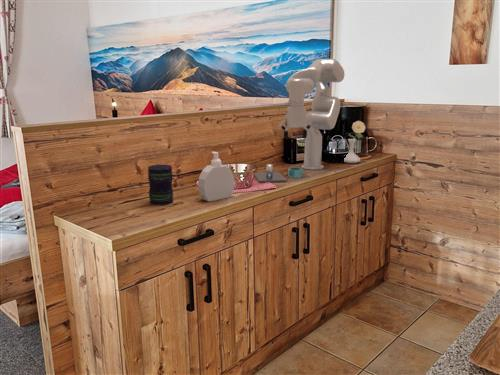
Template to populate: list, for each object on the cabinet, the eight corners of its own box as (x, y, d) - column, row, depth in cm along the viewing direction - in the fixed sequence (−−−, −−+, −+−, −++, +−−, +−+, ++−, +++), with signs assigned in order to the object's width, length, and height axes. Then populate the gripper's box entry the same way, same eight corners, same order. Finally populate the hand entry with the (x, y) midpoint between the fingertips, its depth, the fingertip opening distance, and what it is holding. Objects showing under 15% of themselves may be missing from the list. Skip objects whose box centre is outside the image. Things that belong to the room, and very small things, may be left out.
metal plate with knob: (252, 174, 246) (252, 161, 244) (278, 173, 248) (279, 160, 246) (259, 183, 227) (259, 168, 225) (287, 182, 229) (287, 168, 227)
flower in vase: (340, 163, 275) (342, 121, 269) (342, 160, 285) (344, 119, 279) (362, 165, 271) (365, 122, 265) (363, 161, 282) (366, 120, 276)
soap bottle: (227, 194, 206) (227, 149, 201) (234, 196, 202) (234, 151, 197) (197, 200, 196) (196, 153, 191) (204, 202, 192) (203, 155, 187)
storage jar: (147, 200, 196) (145, 165, 192) (170, 198, 199) (169, 163, 196) (151, 206, 187) (149, 170, 183) (175, 204, 190) (174, 168, 187)
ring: (287, 175, 244) (287, 167, 243) (300, 174, 245) (300, 167, 244) (290, 178, 237) (290, 170, 236) (303, 177, 238) (303, 170, 237)
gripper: (282, 104, 225) (281, 140, 229) (315, 104, 229) (314, 139, 233) (277, 104, 232) (276, 138, 236) (309, 103, 236) (308, 137, 240)
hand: (295, 138), depth 235 cm, fingers open, 9 cm apart
